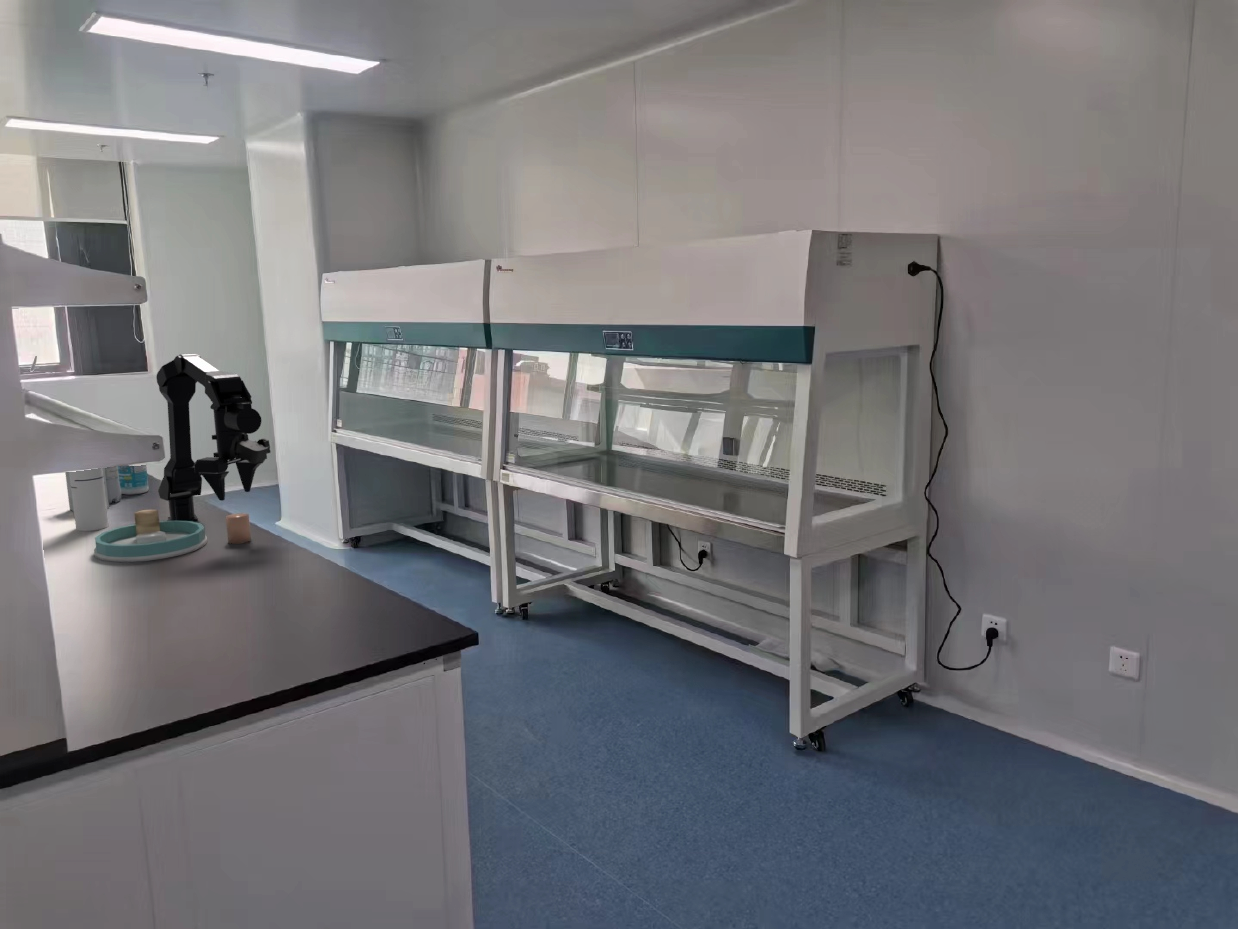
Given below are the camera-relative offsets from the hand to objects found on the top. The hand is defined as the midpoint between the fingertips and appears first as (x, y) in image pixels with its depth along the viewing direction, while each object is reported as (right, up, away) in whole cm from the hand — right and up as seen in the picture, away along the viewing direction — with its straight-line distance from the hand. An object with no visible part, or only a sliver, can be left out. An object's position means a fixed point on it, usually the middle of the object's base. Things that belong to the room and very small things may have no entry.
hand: (235, 496), depth 210 cm
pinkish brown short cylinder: (0, -11, +2) cm, 11 cm away
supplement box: (-54, -5, +35) cm, 65 cm away
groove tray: (-18, -12, -3) cm, 21 cm away
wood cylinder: (-21, -10, +2) cm, 23 cm away
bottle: (-54, -3, +43) cm, 69 cm away
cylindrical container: (-42, -9, +16) cm, 46 cm away
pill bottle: (-53, -1, +55) cm, 77 cm away
